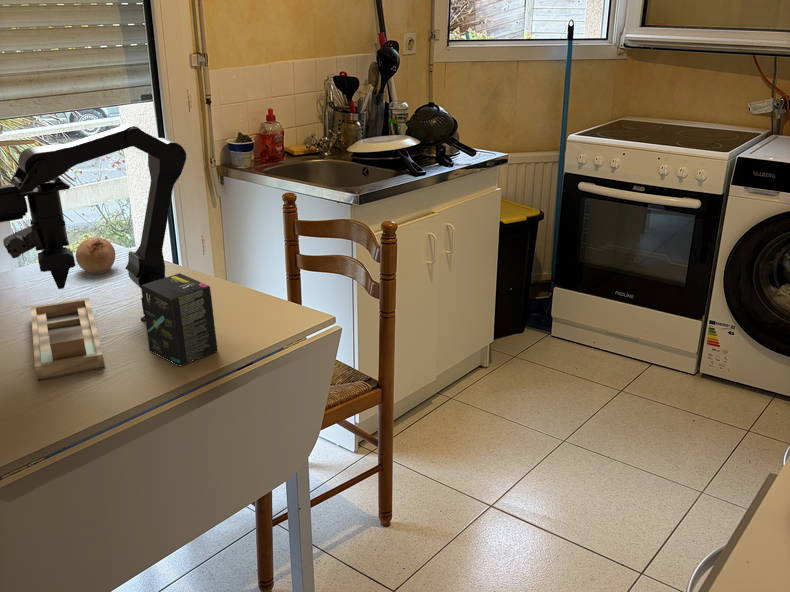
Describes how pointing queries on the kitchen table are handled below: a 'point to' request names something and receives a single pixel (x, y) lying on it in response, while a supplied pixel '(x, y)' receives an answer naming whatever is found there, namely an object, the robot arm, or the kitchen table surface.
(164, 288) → the tampon box
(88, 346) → the sage pad
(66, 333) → the walnut block
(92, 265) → the onion
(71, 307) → the oak tray
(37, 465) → the kitchen table surface
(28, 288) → the kitchen table surface
